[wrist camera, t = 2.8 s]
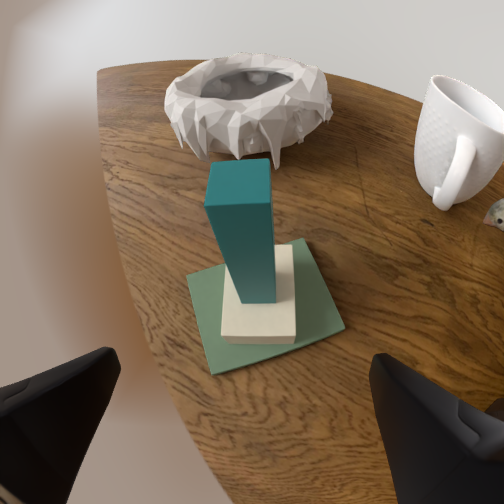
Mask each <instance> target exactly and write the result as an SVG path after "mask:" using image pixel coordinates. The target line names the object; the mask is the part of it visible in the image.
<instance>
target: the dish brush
mask: <svg viewBox="0 0 504 504" xmlns="http://www.w3.org/2000/svg"><path fill="white" fill-rule="evenodd" d="M204 208H205V210H206V213H207V216H208V218H209V221H210V224H211V226H212V229H213V232H214V234H215V237H216V240H217V242H218V245H219V248H220V250H221V253H222V255H223V258H224V261H225V263H226V269H225V282H224V296H223V311H222V326H221V336H222V337H223V338H224V339H225V340H226V341H227V342H228V343H229V344H294V340H295V337H296V316H295V288H294V266H293V247H292V245H275V242H274V222H273V203H272V186H271V170H270V159H248V160H233V161H220V162H212V164H211V169H210V174H209V179H208V185H207V190H206V196H205V202H204Z"/></svg>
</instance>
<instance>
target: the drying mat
mask: <svg viewBox="0 0 504 504" xmlns="http://www.w3.org/2000/svg"><path fill="white" fill-rule="evenodd" d="M282 245H292V247H293V266H294V288H295V316H296V337H295V340H294V344H229V343H228V342H227V341H226V340H225V339H224V338H223V337H222V336H221V326H222V311H223V296H224V282H225V269H226V263H223V264H220V265H217V266H214V267H211V268H208V269H205V270H202V271H198V272H195V273H192V274H189V275H187V281H188V285H189V290H190V294H191V299H192V303H193V307H194V311H195V315H196V319H197V323H198V327H199V331H200V335H201V339H202V343H203V347H204V350H205V354H206V358H207V361H208V365H209V368H210V372H211V375H218V374H221V373H225V372H228V371H232V370H235V369H239V368H242V367H245V366H249V365H252V364H255V363H258V362H261V361H264V360H267V359H270V358H273V357H276V356H279V355H282V354H285V353H288V352H290V351H293V350H296V349H299V348H301V347H304V346H307V345H309V344H312V343H314V342H317V341H319V340H322V339H324V338H327V337H329V336H332V335H334V334H337V333H339V332H341V331H343V330H344V329H345V326H344V323H343V321H342V319H341V317H340V314H339V312H338V310H337V308H336V305H335V303H334V301H333V299H332V297H331V294H330V292H329V290H328V288H327V286H326V284H325V281H324V279H323V277H322V275H321V273H320V271H319V269H318V267H317V264H316V262H315V260H314V258H313V256H312V254H311V252H310V250H309V248H308V246H307V244H306V242H305V240H304V238H300V239H297V240H294V241H291V242H288V243H285V244H282Z"/></svg>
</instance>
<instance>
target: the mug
mask: <svg viewBox="0 0 504 504" xmlns="http://www.w3.org/2000/svg"><path fill="white" fill-rule="evenodd" d="M414 147H415V149H414V150H415V152H414V157H415V158H414V163H415V170H416V175H417V178H418V181H419V183H420V185H421V186H422V188H423V189H424V190H425V191H426V192H427V193H428V194H429V195H430V196H431V197H433V203H434V205H435V206H436V207H437V208H439V209H440V210H443V211H447V210H449V209H450V207H451V206H452V204H457V203H461V202H463V201H466V200H467V199H469V198H471V197H472V196H475V195H476V194H477V193H478V192H480V190H482V189H483V187H485V186H486V185H487V184H488V183H489V181H490V180H491V179H492V178H493V176H494V175H495V173H496V172H497V171H498V169H499V167H500V166H501V165H502V163H503V162H504V111H502V109H501V108H500V107H499V106H498V105H496V104H495V103H494V102H493V101H492V100H490V99H489V98H488V97H486V96H485V95H484V94H482V93H481V92H479V91H478V90H476V89H474V88H473V87H471V86H469V85H467V84H465V83H463V82H461V81H459V80H456V79H454V78H450V77H447V76H442V75H434V76H432V77H431V79H430V82H429V86H428V90H427V93H426V96H425V99H424V103H423V107H422V110H421V114H420V119H419V123H418V126H417V133H416V139H415V146H414Z"/></svg>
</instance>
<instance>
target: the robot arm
mask: <svg viewBox="0 0 504 504" xmlns="http://www.w3.org/2000/svg"><path fill="white" fill-rule="evenodd" d="M120 371H121V366H120V363H119V360H118V357H117V354H116V352H115V350H114V349H113V348H110V347H102V348H100V349H97V350H95V351H93V352H90V353H88V354H86V355H83V356H81V357H78V358H76V359H74V360H71V361H69V362H67V363H64V364H62V365H59V366H57V367H55V368H52V369H50V370H47V371H45V372H42V373H40V374H37V375H35V376H32V377H30V378H27V379H24V380H22V381H19V382H17V383H14V384H11V385H7V386H4V387H1V388H0V504H66V503H67V500H68V498H69V495H70V492H71V490H72V487H73V484H74V481H75V479H76V476H77V474H78V471H79V469H80V467H81V464H82V462H83V459H84V457H85V455H86V452H87V450H88V448H89V445H90V443H91V441H92V439H93V436H94V434H95V432H96V430H97V427H98V425H99V423H100V421H101V419H102V417H103V415H104V412H105V410H106V408H107V406H108V404H109V402H110V399H111V396H112V393H113V391H114V388H115V385H116V382H117V380H118V377H119V374H120ZM369 381H370V386H371V392H372V397H373V403H374V409H375V414H376V418H377V422H378V426H379V429H380V433H381V436H382V440H383V443H384V447H385V451H386V454H387V458H388V462H389V466H390V470H391V474H392V478H393V482H394V487H395V491H396V496H397V500H398V504H504V422H503V421H501V420H499V419H497V418H495V417H492V416H490V415H488V414H486V413H484V412H482V411H480V410H478V409H476V408H475V407H473V406H471V405H469V404H468V403H466V402H464V401H463V400H461V399H458V397H456V396H454V395H453V394H451V393H450V392H448V391H446V390H445V389H443V388H441V387H440V386H438V385H437V384H435V383H433V382H432V381H430V380H429V379H427V378H425V377H424V376H422V375H421V374H419V373H417V372H416V371H414V370H413V369H411V368H409V367H408V366H406V365H405V364H403V363H401V362H400V361H398V360H397V359H395V358H393V357H392V356H390V355H389V354H387V353H380V354H375V355H374V357H373V360H372V364H371V368H370V372H369Z"/></svg>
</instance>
